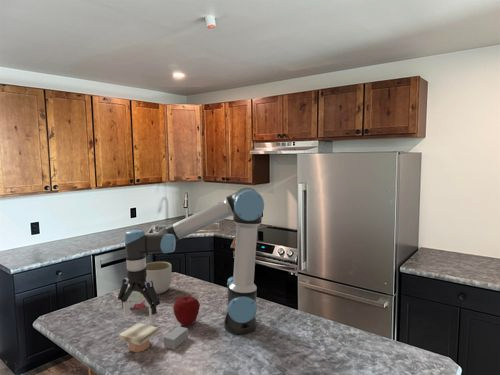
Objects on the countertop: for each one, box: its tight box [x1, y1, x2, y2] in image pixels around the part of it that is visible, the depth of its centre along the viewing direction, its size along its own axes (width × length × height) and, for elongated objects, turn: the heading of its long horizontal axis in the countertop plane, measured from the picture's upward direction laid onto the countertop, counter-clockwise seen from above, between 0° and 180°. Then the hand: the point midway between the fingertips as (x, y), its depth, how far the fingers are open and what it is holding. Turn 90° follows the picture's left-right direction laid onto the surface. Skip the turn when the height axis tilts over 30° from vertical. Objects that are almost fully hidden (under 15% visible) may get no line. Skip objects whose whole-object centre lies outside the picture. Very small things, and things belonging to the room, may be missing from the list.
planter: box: [144, 261, 172, 295], centre depth 197 cm, size 17×17×15 cm
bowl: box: [128, 339, 151, 353], centre depth 139 cm, size 8×8×4 cm
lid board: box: [118, 322, 159, 345], centre depth 139 cm, size 11×11×2 cm
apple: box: [172, 295, 201, 327], centre depth 158 cm, size 12×12×13 cm
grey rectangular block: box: [163, 326, 189, 350], centre depth 142 cm, size 5×10×4 cm, turn 156°
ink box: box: [126, 284, 145, 310], centre depth 177 cm, size 9×5×12 cm, turn 80°
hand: (139, 319), depth 138 cm, fingers open, 13 cm apart
